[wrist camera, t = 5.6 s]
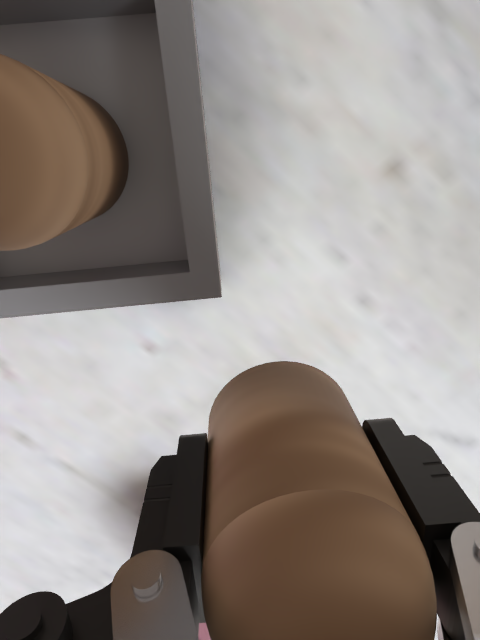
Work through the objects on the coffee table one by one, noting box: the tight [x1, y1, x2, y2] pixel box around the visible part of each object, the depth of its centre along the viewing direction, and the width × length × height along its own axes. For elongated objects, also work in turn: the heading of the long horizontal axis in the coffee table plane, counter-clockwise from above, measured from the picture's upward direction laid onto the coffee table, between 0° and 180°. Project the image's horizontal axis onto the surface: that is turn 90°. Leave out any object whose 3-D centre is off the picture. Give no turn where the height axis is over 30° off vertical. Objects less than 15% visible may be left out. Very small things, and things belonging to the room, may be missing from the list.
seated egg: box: [0, 54, 129, 251], centre depth 11 cm, size 4×4×7 cm
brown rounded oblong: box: [201, 361, 437, 640], centre depth 9 cm, size 4×4×7 cm
